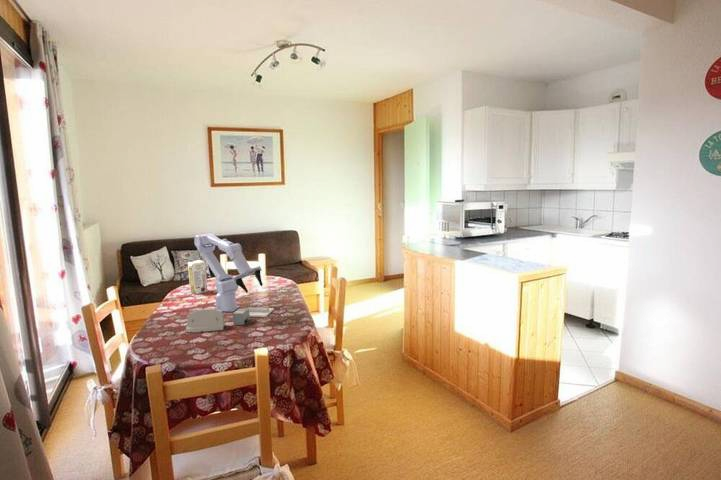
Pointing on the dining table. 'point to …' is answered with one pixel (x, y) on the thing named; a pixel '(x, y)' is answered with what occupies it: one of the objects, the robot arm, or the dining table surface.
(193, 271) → the juice carton
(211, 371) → the dining table surface
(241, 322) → the module
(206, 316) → the light grey flat block
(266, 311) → the rail board
